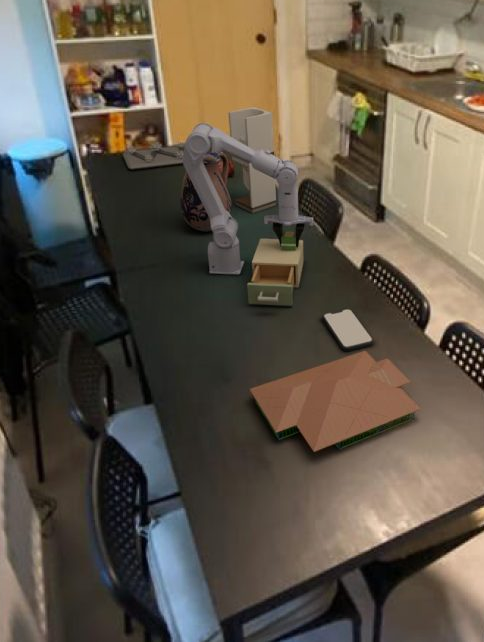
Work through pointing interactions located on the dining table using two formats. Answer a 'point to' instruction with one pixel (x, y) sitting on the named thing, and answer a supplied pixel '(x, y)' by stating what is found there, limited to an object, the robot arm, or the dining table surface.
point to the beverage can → (230, 170)
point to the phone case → (347, 330)
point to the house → (336, 400)
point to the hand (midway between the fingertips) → (289, 245)
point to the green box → (288, 240)
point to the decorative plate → (154, 156)
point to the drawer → (272, 285)
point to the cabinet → (279, 256)
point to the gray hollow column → (258, 135)
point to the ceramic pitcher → (190, 198)
